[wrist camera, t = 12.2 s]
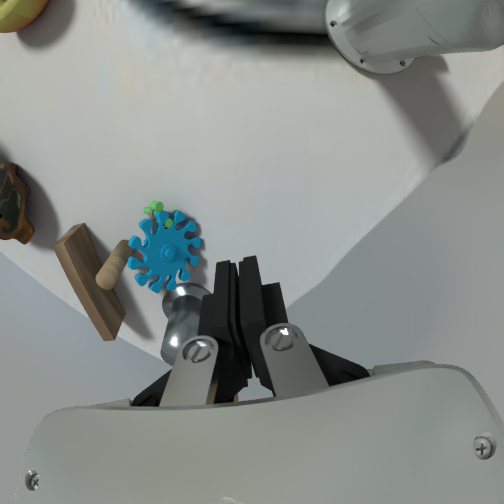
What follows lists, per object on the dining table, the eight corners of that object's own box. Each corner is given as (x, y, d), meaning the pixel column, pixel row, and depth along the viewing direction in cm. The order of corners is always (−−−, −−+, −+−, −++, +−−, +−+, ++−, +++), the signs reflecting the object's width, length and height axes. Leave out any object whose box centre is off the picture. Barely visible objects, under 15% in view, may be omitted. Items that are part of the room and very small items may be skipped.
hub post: (208, 278, 40) (202, 329, 31) (222, 321, 43) (220, 372, 35) (155, 287, 40) (138, 336, 31) (173, 327, 44) (163, 377, 35)
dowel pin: (130, 238, 36) (109, 270, 29) (136, 253, 37) (117, 288, 30) (115, 241, 36) (92, 273, 29) (121, 257, 37) (100, 291, 30)
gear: (206, 279, 38) (140, 307, 31) (181, 266, 41) (120, 289, 34) (201, 194, 34) (124, 211, 27) (174, 191, 37) (106, 205, 31)
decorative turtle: (5, 134, 27) (-29, 146, 20) (59, 206, 34) (33, 231, 27) (-21, 177, 28) (-51, 196, 22) (29, 243, 36) (5, 270, 29)
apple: (52, -34, 15) (23, -49, 8) (68, 0, 19) (35, -14, 12) (5, 10, 16) (-28, 5, 9) (18, 47, 21) (-19, 45, 14)
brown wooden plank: (84, 222, 34) (63, 243, 29) (125, 313, 42) (114, 340, 37) (73, 225, 34) (52, 246, 29) (115, 314, 42) (104, 340, 37)
